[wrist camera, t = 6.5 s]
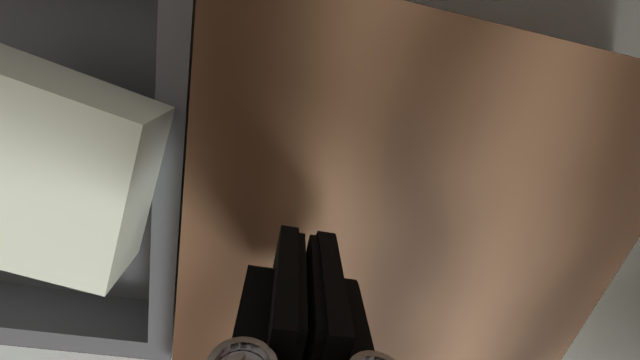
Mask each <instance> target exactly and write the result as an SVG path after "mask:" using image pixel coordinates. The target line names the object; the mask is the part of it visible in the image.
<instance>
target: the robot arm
mask: <svg viewBox="0 0 640 360" xmlns="http://www.w3.org/2000/svg"><path fill="white" fill-rule="evenodd" d="M206 360H395V359H393V358H392V357H390V356H389V355H387V354H384V353H381V352H379V351H375V349H374V345H373V341H372V337H371V333H370V329H369V325H368V321H367V316H366V312H365V308H364V304H363V300H362V296H361V292H360V288H359V284H358V281H357V280H355V279H348V278H344V274H343V268H342V263H341V258H340V253H339V247H338V242H337V237H336V234H335V233H330V232H323V231H317V233H316V235H312V234H310V236H309V240H308V245H307V249H306V239H305V233H299V228H297V227H291V226H284V225H281V228H280V233H279V238H278V243H277V248H276V254H275V259H274V264H273V268H268V267H261V266H253V265H248V268H247V272H246V277H245V281H244V286H243V290H242V295H241V299H240V304H239V308H238V313H237V317H236V322H235V326H234V331H233V335H232V338H230V339H228V340H225V341H223V342H221V343H220V344H219V345H217V346H216V347H215V348H214V349H213V350H212V351H211V353H210V354H209V356H208V357H207V359H206Z"/></svg>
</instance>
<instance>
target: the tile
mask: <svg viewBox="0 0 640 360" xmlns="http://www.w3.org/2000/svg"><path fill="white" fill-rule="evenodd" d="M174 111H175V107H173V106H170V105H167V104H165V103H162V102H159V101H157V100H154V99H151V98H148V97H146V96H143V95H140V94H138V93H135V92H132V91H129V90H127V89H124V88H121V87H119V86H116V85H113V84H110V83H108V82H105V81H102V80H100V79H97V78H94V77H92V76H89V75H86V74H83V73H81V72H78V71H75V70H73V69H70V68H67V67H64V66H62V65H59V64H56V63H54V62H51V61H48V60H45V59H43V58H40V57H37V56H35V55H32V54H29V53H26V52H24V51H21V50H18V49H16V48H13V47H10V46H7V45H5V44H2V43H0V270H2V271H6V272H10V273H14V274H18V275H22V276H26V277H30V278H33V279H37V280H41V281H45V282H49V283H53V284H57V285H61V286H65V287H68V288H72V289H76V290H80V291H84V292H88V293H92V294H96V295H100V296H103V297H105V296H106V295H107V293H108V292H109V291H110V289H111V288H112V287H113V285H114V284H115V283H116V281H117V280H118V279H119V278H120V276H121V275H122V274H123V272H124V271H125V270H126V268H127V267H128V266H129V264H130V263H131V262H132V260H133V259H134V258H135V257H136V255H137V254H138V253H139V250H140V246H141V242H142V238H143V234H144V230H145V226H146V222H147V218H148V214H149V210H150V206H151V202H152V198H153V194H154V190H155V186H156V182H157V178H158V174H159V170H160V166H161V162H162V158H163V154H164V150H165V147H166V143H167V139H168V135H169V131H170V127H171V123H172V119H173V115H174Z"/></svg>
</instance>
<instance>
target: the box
mask: <svg viewBox="0 0 640 360" xmlns="http://www.w3.org/2000/svg"><path fill="white" fill-rule="evenodd" d="M195 9H196V0H0V43H2V44H5V45H7V46H10V47H13V48H16V49H18V50H21V51H24V52H26V53H29V54H32V55H35V56H37V57H40V58H43V59H45V60H48V61H51V62H54V63H56V64H59V65H62V66H64V67H67V68H70V69H73V70H75V71H78V72H81V73H83V74H86V75H89V76H92V77H94V78H97V79H100V80H102V81H105V82H108V83H110V84H113V85H116V86H119V87H121V88H124V89H127V90H129V91H132V92H135V93H138V94H140V95H143V96H146V97H148V98H151V99H154V100H157V101H159V102H162V103H165V104H167V105H170V106H173V107H175V111H174V115H173V119H172V123H171V127H170V131H169V135H168V139H167V143H166V147H165V150H164V154H163V158H162V162H161V166H160V170H159V174H158V178H157V182H156V186H155V190H154V194H153V198H152V202H151V206H150V210H149V214H148V218H147V222H146V226H145V230H144V234H143V238H142V242H141V246H140V250H139V253H138V254H137V255H136V257H135V258H134V259H133V260H132V262H131V263H130V264H129V266H128V267H127V268H126V270H125V271H124V272H123V274H122V275H121V276H120V278H119V279H118V280H117V281H116V283H115V284H114V285H113V287H112V288H111V289H110V291H109V292H108V293H107V295H106V296H105V297H103V296H100V295H96V294H92V293H88V292H84V291H80V290H76V289H72V288H68V287H65V286H61V285H57V284H53V283H49V282H45V281H41V280H37V279H33V278H30V277H26V276H22V275H18V274H14V273H10V272H6V271H2V270H0V345H8V346H18V347H28V348H38V349H48V350H58V351H68V352H78V353H88V354H98V355H108V356H118V357H128V358H138V359H148V360H171V358H172V355H173V340H174V325H175V310H176V295H177V280H178V265H179V250H180V235H181V220H182V205H183V190H184V174H185V159H186V144H187V129H188V114H189V99H190V84H191V69H192V54H193V39H194V24H195Z"/></svg>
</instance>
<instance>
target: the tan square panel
mask: <svg viewBox="0 0 640 360" xmlns="http://www.w3.org/2000/svg"><path fill="white" fill-rule="evenodd" d="M281 225H284V226H291V227H297V228H299V233H305V239H306V249H307V245H308V240H309V236H310V234H312V235H316V233H317V231H323V232H330V233H335V234H336V237H337V242H338V247H339V253H340V258H341V263H342V268H343V274H344V278H348V279H355V280H357V281H358V284H359V288H360V292H361V296H362V300H363V304H364V308H365V312H366V316H367V321H368V325H369V329H370V333H371V337H372V341H373V345H374V349H375V351H379V352H381V353H384V354H387V355H389V356H390V357H392V358H393V359H395V360H561V359H562V358H563V356H564V355H565V353H566V351H567V350H568V348H569V347H570V345H571V344H572V342H573V340H574V339H575V337H576V336H577V334H578V333H579V331H580V329H581V328H582V326H583V325H584V323H585V322H586V320H587V318H588V317H589V315H590V314H591V312H592V310H593V309H594V307H595V306H596V304H597V303H598V301H599V299H600V298H601V296H602V295H603V293H604V292H605V290H606V288H607V287H608V285H609V284H610V282H611V281H612V279H613V277H614V276H615V274H616V273H617V271H618V270H619V268H620V266H621V265H622V263H623V262H624V260H625V259H626V257H627V255H628V254H629V252H630V251H631V249H632V248H633V246H634V244H635V243H636V241H637V240H638V238H639V237H640V58H635V57H631V56H627V55H623V54H619V53H615V52H611V51H607V50H603V49H599V48H595V47H591V46H587V45H583V44H579V43H575V42H571V41H567V40H563V39H559V38H555V37H551V36H547V35H543V34H538V33H534V32H530V31H526V30H522V29H518V28H514V27H510V26H506V25H502V24H498V23H494V22H490V21H486V20H482V19H478V18H474V17H470V16H466V15H462V14H458V13H454V12H450V11H445V10H441V9H437V8H433V7H429V6H425V5H421V4H417V3H413V2H409V1H405V0H196V9H195V24H194V39H193V54H192V69H191V84H190V99H189V114H188V129H187V144H186V159H185V174H184V190H183V205H182V220H181V235H180V250H179V265H178V280H177V295H176V310H175V325H174V340H173V355H172V360H206V359H207V357H208V356H209V354H210V353H211V351H212V350H213V349H214V348H215V347H216V346H217V345H219V344H220V343H221V342H223V341H225V340H228V339H230V338H232V335H233V331H234V326H235V322H236V317H237V313H238V308H239V304H240V299H241V295H242V290H243V286H244V281H245V277H246V272H247V268H248V265H253V266H261V267H268V268H273V264H274V259H275V254H276V248H277V243H278V238H279V233H280V228H281Z"/></svg>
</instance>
